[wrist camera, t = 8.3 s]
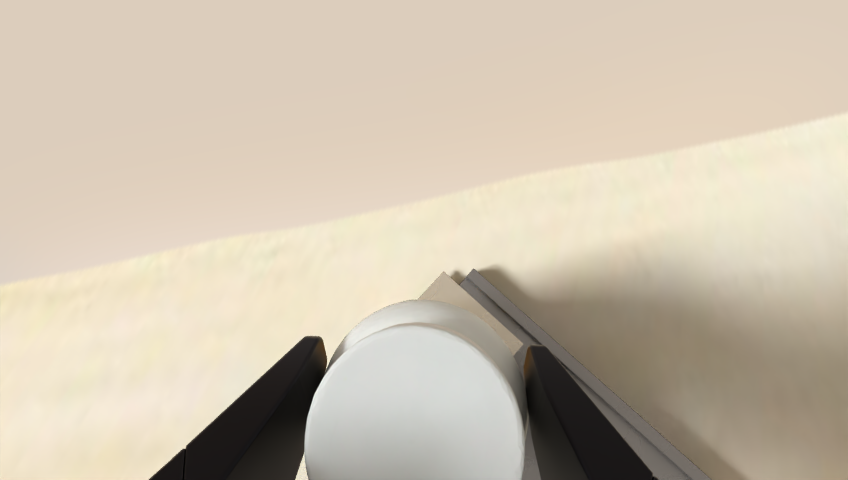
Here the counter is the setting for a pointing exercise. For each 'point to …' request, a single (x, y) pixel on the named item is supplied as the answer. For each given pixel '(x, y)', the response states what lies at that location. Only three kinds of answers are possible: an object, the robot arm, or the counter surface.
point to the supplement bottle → (419, 400)
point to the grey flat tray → (520, 332)
